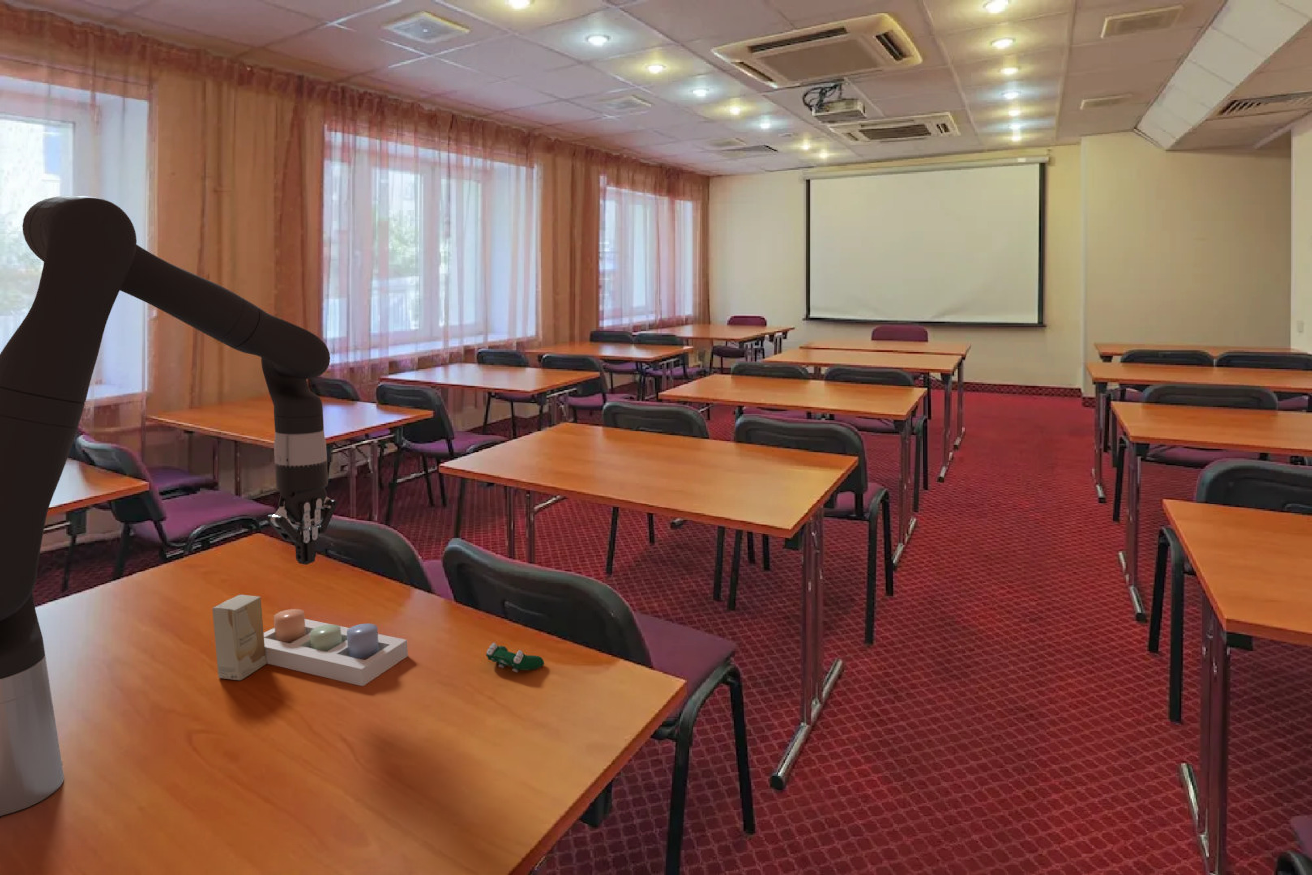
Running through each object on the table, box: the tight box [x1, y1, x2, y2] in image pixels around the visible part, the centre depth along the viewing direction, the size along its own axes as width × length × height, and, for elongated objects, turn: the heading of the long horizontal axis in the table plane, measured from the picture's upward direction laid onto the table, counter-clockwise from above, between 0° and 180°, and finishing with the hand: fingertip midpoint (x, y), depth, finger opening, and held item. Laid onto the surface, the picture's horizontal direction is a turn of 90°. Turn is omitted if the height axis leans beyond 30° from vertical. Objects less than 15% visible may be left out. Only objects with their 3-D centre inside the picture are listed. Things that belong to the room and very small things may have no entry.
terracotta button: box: [273, 608, 306, 643], centre depth 131 cm, size 5×5×4 cm
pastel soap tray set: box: [263, 618, 409, 687], centre depth 129 cm, size 11×25×3 cm, turn 69°
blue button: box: [347, 623, 379, 660], centre depth 126 cm, size 5×5×4 cm
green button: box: [310, 623, 342, 652], centre depth 129 cm, size 5×5×4 cm
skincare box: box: [212, 594, 267, 681], centre depth 123 cm, size 6×4×12 cm
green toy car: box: [485, 642, 545, 673], centre depth 126 cm, size 9×4×6 cm
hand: (306, 562), depth 122 cm, fingers closed
